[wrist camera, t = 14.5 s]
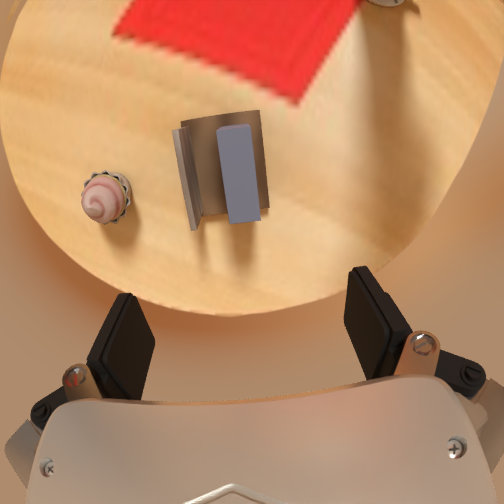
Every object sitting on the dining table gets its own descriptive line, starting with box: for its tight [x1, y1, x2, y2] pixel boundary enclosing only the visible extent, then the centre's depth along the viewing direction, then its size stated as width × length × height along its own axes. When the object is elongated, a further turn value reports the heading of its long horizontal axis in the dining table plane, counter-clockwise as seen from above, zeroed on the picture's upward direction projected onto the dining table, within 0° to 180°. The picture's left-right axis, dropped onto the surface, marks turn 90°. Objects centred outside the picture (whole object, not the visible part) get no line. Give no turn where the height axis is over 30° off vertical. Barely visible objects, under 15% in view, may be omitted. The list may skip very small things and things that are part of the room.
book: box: [216, 123, 261, 224], centre depth 37 cm, size 4×12×10 cm, turn 6°
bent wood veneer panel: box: [172, 110, 270, 231], centre depth 39 cm, size 12×16×10 cm
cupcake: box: [81, 170, 131, 225], centre depth 39 cm, size 9×9×10 cm
